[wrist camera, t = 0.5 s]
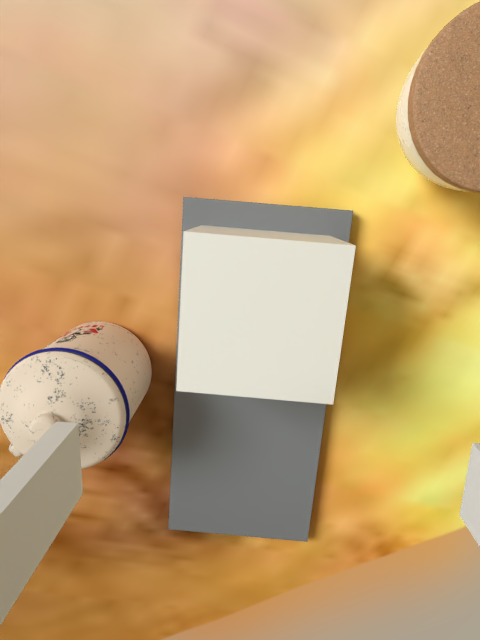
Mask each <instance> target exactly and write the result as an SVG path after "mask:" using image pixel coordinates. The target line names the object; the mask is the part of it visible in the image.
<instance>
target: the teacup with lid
mask: <svg viewBox="0 0 480 640" xmlns="http://www.w3.org/2000/svg"><path fill="white" fill-rule="evenodd" d="M151 377H152V367H151V361H150V358H149V355H148V353H147V350H146V349H145V347H144V345H143V344H142V343H141V341H140V340H139V339H138V338H137V337H136V336H135V335H134V334H133V333H131V332H130V331H128V330H127V329H125V328H123V327H121V326H119V325H117V324H113V323H109V322H103V321H95V322H88V323H84V324H81V325H79V326H76V327H75V328H73V329H71V330H70V331H68V332H67V333H65V334H64V335H62V336H61V337H59V338H58V339H56V340H55V341H53V342H52V343H50V344H49V345H47V346H46V347H44V348H43V349H41V350H38V351H35V352H32V353H30V354H28V355H26V356H25V357H23V358H22V359H20V360H19V361H18V362H16V363H15V364H14V365H13V366H12V368H11V369H10V370H9V371H8V373H7V375H6V376H5V378H4V380H3V383H2V385H1V388H0V423H1V426H2V428H3V430H4V432H5V434H6V436H7V438H8V439H9V440H10V442H11V444H10V446H9V451H10V452H11V453H12V454H13V455H14V456H16V457H20V456H23V455H25V454H26V453H27V451H28V450H29V449H30V448H31V447H32V446H33V445H34V444H35V443H36V442H37V441H38V440H39V439H40V438H41V437H42V436H43V435H44V434H45V433H46V432H47V431H48V430H49V428H50V427H51V426H52V425H53V424H54V423H55V422H72V423H78V427H79V442H80V457H81V469H83V468H87V467H90V466H93V465H95V464H97V463H99V462H101V461H103V460H105V459H106V458H107V457H109V456H110V455H111V454H112V453H113V452H115V450H116V449H117V448H118V447H119V446H120V444H121V443H122V441H123V439H124V437H125V435H126V433H127V429H128V426H129V422H130V420H131V419H132V417H133V415H134V414H135V412H136V410H137V408H138V407H139V405H140V403H141V401H142V400H143V398H144V396H145V395H146V393H147V391H148V389H149V386H150V383H151Z"/></svg>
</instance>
